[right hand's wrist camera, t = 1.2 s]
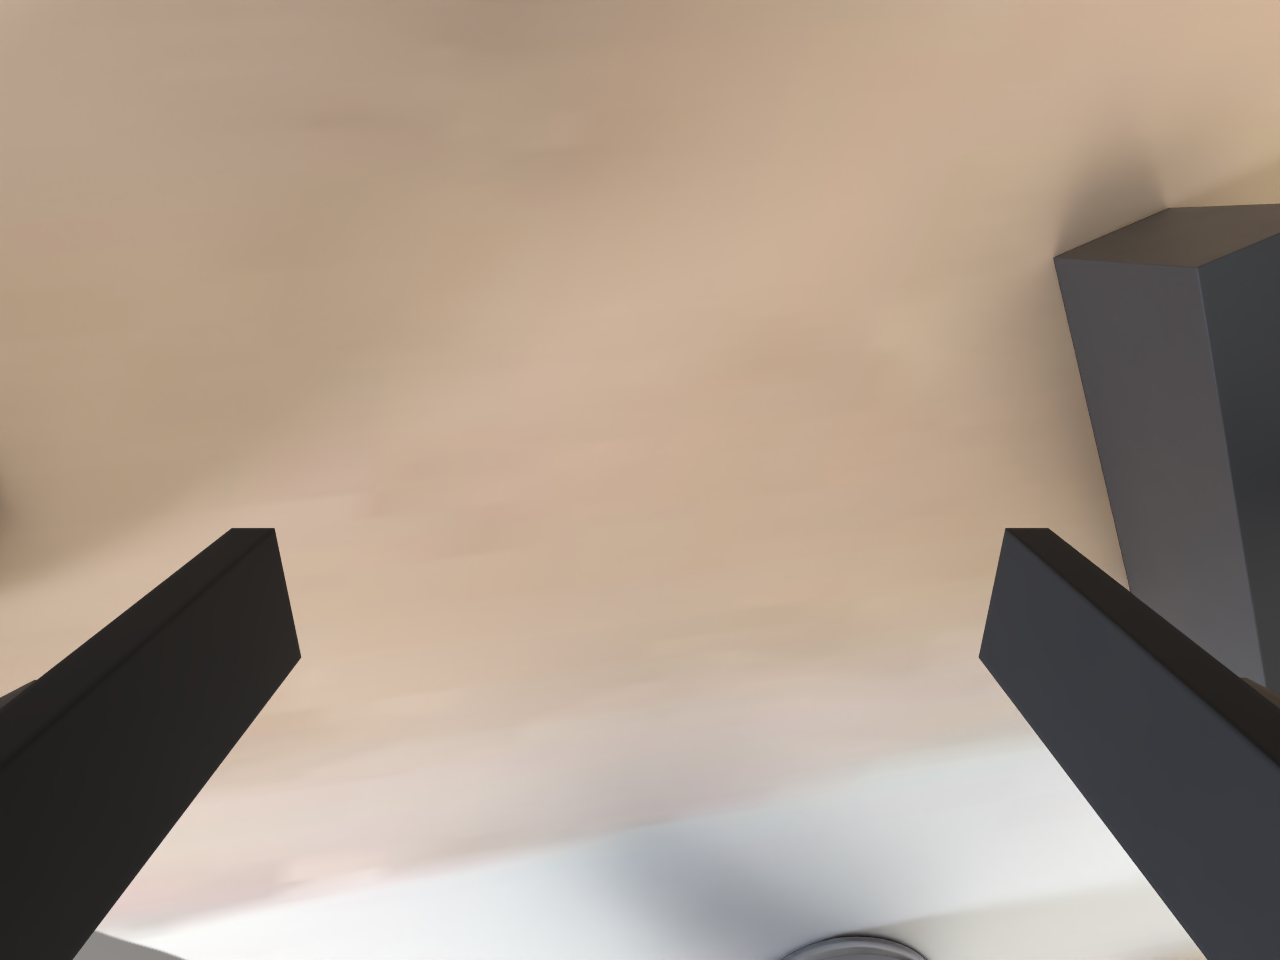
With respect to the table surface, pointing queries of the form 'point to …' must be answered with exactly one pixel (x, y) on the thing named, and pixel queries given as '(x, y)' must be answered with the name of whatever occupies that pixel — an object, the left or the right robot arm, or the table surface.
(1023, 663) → the right robot arm
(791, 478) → the table surface
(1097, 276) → the box
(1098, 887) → the table surface
